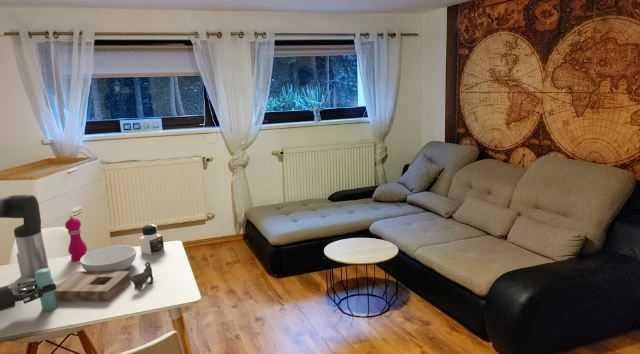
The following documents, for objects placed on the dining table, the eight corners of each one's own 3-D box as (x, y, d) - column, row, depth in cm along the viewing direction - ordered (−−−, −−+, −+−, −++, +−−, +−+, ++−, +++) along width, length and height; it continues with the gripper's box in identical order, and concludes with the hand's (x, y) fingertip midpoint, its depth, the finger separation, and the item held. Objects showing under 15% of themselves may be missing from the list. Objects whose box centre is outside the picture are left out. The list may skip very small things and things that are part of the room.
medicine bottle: (151, 255, 207) (147, 229, 204) (141, 252, 210) (137, 227, 207) (164, 249, 212) (161, 224, 210) (154, 247, 216) (150, 222, 213)
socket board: (51, 301, 170) (49, 290, 169) (78, 280, 185) (76, 271, 184) (109, 301, 167) (107, 291, 166) (131, 280, 183) (129, 271, 182)
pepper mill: (70, 263, 203) (61, 219, 198) (70, 257, 209) (61, 214, 204) (88, 259, 206) (81, 216, 201) (88, 254, 212) (80, 211, 207)
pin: (39, 311, 163) (31, 274, 160) (48, 304, 167) (40, 268, 164) (51, 311, 162) (44, 274, 159) (60, 304, 167) (53, 268, 163)
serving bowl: (125, 280, 184) (123, 264, 182) (72, 282, 184) (69, 266, 183) (145, 258, 204) (143, 243, 202) (98, 260, 205) (95, 245, 203)
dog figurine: (144, 278, 185) (141, 260, 183) (158, 279, 183) (155, 261, 182) (126, 293, 173) (123, 274, 171) (141, 293, 172) (138, 275, 170)
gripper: (-5, 297, 148) (56, 280, 158) (-9, 282, 159) (48, 267, 169) (0, 319, 150) (60, 300, 160) (-4, 303, 161) (52, 286, 171)
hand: (54, 283), depth 164 cm, fingers closed on pin, 4 cm apart
